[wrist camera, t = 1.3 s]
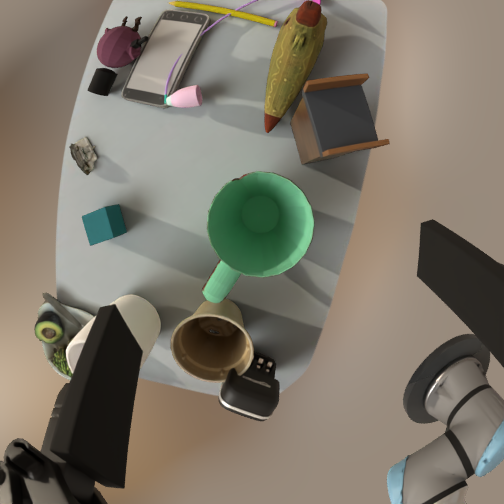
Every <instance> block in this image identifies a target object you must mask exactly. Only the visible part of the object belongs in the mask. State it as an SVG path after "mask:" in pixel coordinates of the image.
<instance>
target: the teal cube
mask: <svg viewBox="0 0 504 504" xmlns="http://www.w3.org/2000/svg"><path fill="white" fill-rule="evenodd" d="M82 219H83V223H84V227H85V230H86V233H87V237H88V240H89V243H90V246H91V245H94V244H97V243H100V242H103V241H106V240H109V239H112V238H114V237H117V236H119V235H122V234H124V233H127V230H126V227H125V224H124V220H123V217H122V213H121V210H120V206H119V204H118V205H113V206H107V207H104V208H101V209H99V210H96V211H94V212H91V213H89V214H86V215H84V216H82Z"/></svg>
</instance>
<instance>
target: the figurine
mask: <svg viewBox="0 0 504 504" xmlns="http://www.w3.org/2000/svg"><path fill="white" fill-rule="evenodd" d="M127 18H128V17H127V16H126V17H125V18H124V20H123V22H124V23H122V26H119V27H115V28H112V29H108V28H106V30H105V34H104V35H103V36H102V38H101V39H100V41H99V43H98V46H97V56H98V59H99V60H100V62H101V63H102V64H103V65H105V66H107V67H111V68H119V67H123V66H126V65H128V64H129V63H131V62H132V61H133V60H134V59H135V58H136V57H138V56H139V55H140V49H141V44H142V43H144V42H146V41H147V40H148V37H147V36H145V37H143V38H140V35H139V34H138V32H137V31H138V28H139V25H140V24H141V23H140V20H141V18H142V17H138V18H136V19H135V26H134V27H133V28H130V27H127V26H125V24H126V22H127V21H126V20H127ZM116 76H117V74H116V73H115V72H114V71H112V70H110V69H106V68H98V69H96V71H95V74H94V76H93V78H92V81H91V83H90V86H89V88H88V91H89V92H92V93H95V94H98V95H103V96H108V94H109V92H110V90H111V87H112V85H113V83H114V81H115V78H116Z"/></svg>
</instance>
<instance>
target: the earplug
mask: <svg viewBox="0 0 504 504" xmlns="http://www.w3.org/2000/svg"><path fill="white" fill-rule="evenodd" d="M256 1H258V0H253V1H251V2H249V3H247V4H245V5H243V6H241V7H239V8H237V9H236V11H238V10H240V9H241V8H243V7H245V6H247V5H249V4H251V3H253V2H256ZM312 1H313V2H316V3H318V4H319V5H320V4H321V0H312ZM229 15H231V13H229V14H227V15H225V16H224V17H222V18H221V19H219V20H218V21H216V22H215V23H214V24H212V25H211V26H210V27H208V28H207V29H206V30H204V31H203V32H202V33H201V35H200V36H202V35H203V34H204V33H205V32H206V31H208V30H209V29H210V28H212V27H213V26H214V25H216V24H217V23H218V22H220V21H221V20H223V19H224V18H226V17H228V16H229ZM181 55H182V54H181ZM181 55H180V56H179V58H178V59H177V60H176V62H175V64H174V65H173V67H172V69H171V71H170V73H169V76H168V79H167V82H166V87H165V101H164V103H165V104H166V103H167V105H168V106H175V107H180V108H188V107H195V106H201V105H202V93H201V89H200V87H199V85H194V86H189V87H186V88H182V89H180V90H178V91H176V92H175V93H173V94H172V95H171V96H169V97H167V89H168V84H169V80H170V77H171V74H172V72H173V70H174V68H175V66H176V64H177V62H178V60H179V59H180V57H181Z"/></svg>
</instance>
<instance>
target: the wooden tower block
mask: <svg viewBox="0 0 504 504" xmlns="http://www.w3.org/2000/svg"><path fill="white" fill-rule="evenodd" d="M290 124H291V127H292V131H293V134H294V138H295V141H296V145H297V149H298V152H299V156H300V160H301V163H302V165H303V164H307V163H312V162H316V161H321V160H326V159H330V158H335V157H339V156H342V155H345V154H348V153H344V154H339V155H334V156H329V157H324V158H321V157H320V153H319V150H318V146H317V142H316V139H315V135H314V132H313V128H312V125H311V122H310V118H309V115H308V112H307V108H306V105H305V102H304V99H303V98H302V100H301V102H300V104H299V106H298V108H297V110H296V112H295V114H294V116H293V118H292V120H291V122H290ZM349 153H352V152H349Z"/></svg>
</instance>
